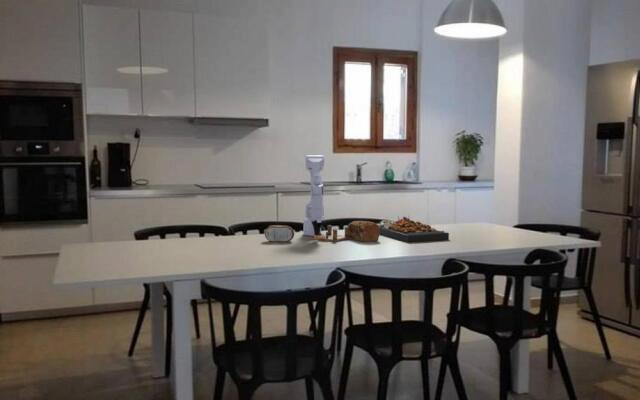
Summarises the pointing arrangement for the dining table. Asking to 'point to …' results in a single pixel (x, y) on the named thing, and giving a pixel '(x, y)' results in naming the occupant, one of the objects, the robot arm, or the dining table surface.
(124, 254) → the dining table surface
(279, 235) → the tin
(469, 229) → the dining table surface
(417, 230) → the food platter
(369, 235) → the bread
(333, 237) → the stool frame
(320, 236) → the gate leg
